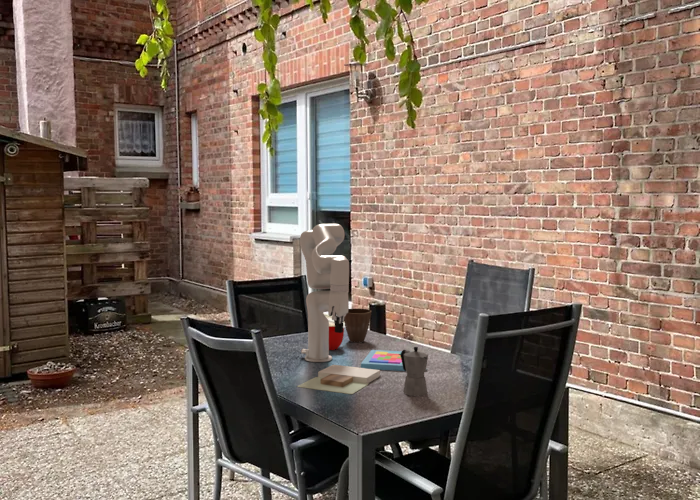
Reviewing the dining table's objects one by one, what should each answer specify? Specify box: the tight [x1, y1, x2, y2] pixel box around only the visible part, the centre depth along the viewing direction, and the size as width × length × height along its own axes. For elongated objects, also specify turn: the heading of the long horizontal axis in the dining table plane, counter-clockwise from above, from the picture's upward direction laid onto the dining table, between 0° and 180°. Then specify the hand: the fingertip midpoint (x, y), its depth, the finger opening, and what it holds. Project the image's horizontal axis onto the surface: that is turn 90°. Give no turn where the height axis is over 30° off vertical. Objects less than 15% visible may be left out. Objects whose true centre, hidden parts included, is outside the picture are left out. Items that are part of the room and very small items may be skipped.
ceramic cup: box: [329, 325, 345, 351], centre depth 347 cm, size 13×17×10 cm
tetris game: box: [360, 349, 406, 372], centre depth 317 cm, size 28×3×28 cm
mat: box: [296, 376, 370, 395], centre depth 279 cm, size 24×16×1 cm, turn 65°
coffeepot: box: [400, 346, 429, 397], centre depth 269 cm, size 15×9×18 cm, turn 35°
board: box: [317, 364, 381, 384], centre depth 292 cm, size 22×14×2 cm, turn 65°
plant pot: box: [343, 308, 372, 343], centre depth 364 cm, size 15×15×16 cm
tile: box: [321, 374, 353, 387], centre depth 282 cm, size 10×9×2 cm
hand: (338, 332), depth 288 cm, fingers closed
